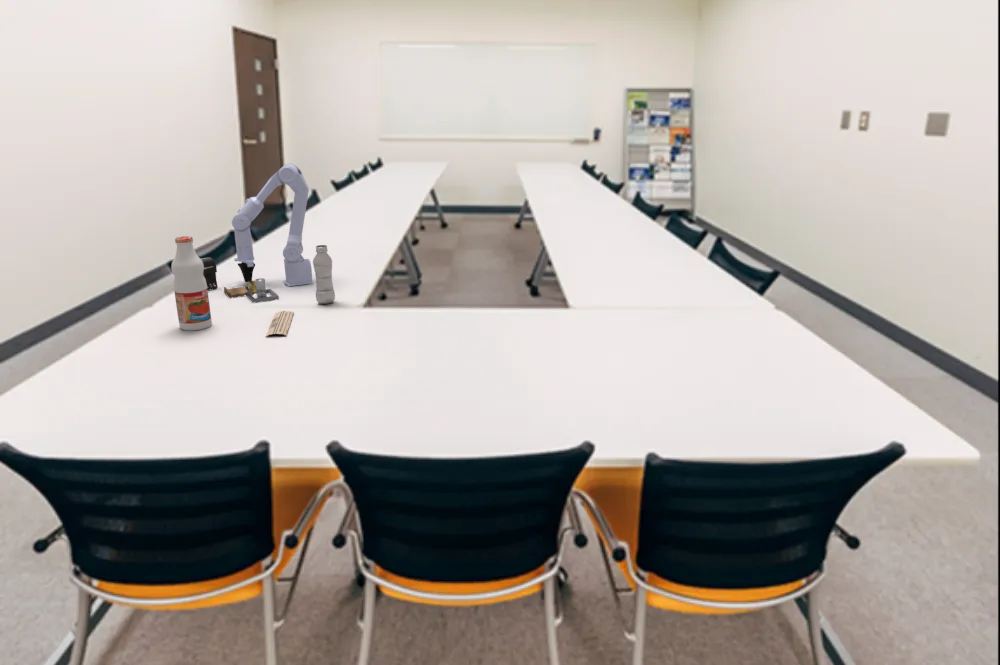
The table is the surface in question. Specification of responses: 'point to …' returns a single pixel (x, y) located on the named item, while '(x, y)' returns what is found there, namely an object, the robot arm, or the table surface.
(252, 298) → the socket
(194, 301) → the fruit juice
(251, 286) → the block
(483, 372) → the table surface
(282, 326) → the newspaper
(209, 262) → the battery charger
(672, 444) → the table surface
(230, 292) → the brown flat slab
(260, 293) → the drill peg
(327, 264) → the plastic bottle
